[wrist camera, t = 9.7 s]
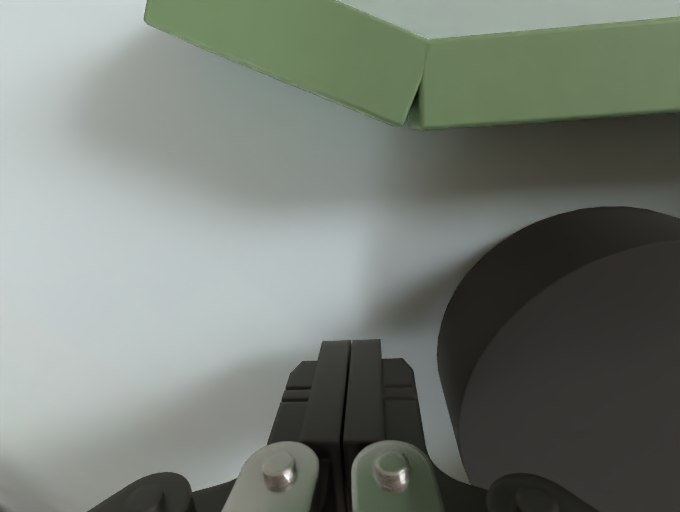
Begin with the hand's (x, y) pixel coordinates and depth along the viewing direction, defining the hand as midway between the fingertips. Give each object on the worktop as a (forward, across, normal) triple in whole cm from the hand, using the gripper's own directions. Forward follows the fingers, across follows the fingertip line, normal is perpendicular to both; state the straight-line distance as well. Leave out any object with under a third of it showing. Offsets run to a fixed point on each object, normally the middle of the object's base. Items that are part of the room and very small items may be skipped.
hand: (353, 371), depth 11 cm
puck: (+1, -6, 0) cm, 6 cm away
